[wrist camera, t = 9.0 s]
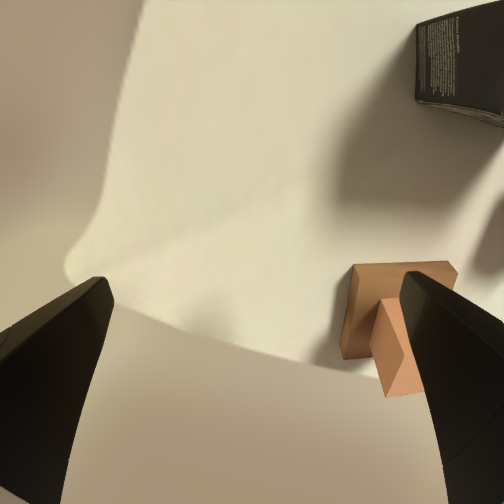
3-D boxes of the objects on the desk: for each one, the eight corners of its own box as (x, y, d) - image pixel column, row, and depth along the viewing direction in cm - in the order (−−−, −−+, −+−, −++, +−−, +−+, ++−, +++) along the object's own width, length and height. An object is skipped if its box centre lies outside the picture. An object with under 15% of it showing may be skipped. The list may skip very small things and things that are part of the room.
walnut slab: (421, 336, 27) (428, 349, 25) (339, 344, 28) (343, 359, 26) (447, 260, 23) (457, 273, 21) (353, 264, 23) (359, 278, 21)
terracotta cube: (417, 337, 24) (439, 387, 19) (369, 343, 25) (385, 398, 20) (433, 294, 22) (464, 345, 17) (380, 298, 22) (404, 355, 17)
